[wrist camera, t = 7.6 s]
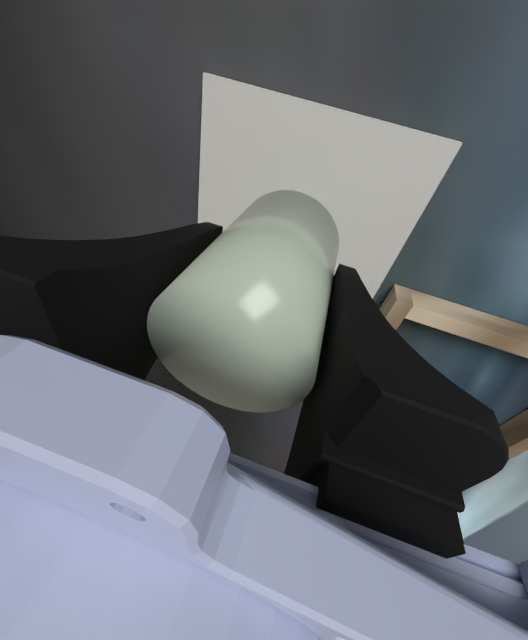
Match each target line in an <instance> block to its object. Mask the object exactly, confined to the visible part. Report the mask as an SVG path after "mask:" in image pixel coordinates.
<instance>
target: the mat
mask: <svg viewBox="0 0 528 640" xmlns="http://www.w3.org/2000/svg"><path fill="white" fill-rule="evenodd" d="M461 145H462V142H460V141H456V140H452V139H449V138H445V137H441V136H438V135H434V134H430V133H427V132H423V131H419V130H416V129H412V128H408V127H405V126H401V125H397V124H394V123H390V122H386V121H383V120H379V119H375V118H371V117H368V116H364V115H360V114H357V113H353V112H349V111H346V110H342V109H338V108H335V107H331V106H327V105H324V104H320V103H316V102H313V101H309V100H305V99H302V98H298V97H294V96H290V95H287V94H283V93H279V92H276V91H272V90H268V89H265V88H261V87H257V86H254V85H250V84H246V83H243V82H239V81H235V80H232V79H228V78H224V77H221V76H217V75H213V74H210V73H203V90H202V118H201V146H200V174H199V202H198V223H203V222H210V223H213V224H216V225H219V226H223V231H224V230H226V229H227V228H228V227H229V226H230V225H231V224H232V223H233V222H234V221H235V220H236V219H237V218H238V217H239V216H240V215H241V214H242V213H243V212H244V211H245V210H246V209H247V208H248V207H249V206H250V205H251V204H252V203H253V202H254V201H255V200H256V199H258V198H259V197H261V196H263V195H265V194H267V193H270V192H273V191H278V190H293V191H298V192H301V193H304V194H307V195H309V196H311V197H313V198H314V199H316V200H317V201H318V202H320V203H321V204H322V205H323V206H324V207H325V208H326V209H327V210H328V212H329V213H330V214H331V216H332V218H333V220H334V222H335V224H336V227H337V230H338V235H339V250H338V255H337V261H336V266H335V272H336V270H337V268H338V265H339V264H342V265H345V266H349V267H352V268H355V269H356V271H357V272H358V274H359V276H360V278H361V280H362V282H363V283H364V285H365V287H366V289H367V291H368V292H369V294H370V296H371V297H372V299H373V297H374V296H375V294H376V292H377V290H378V289H379V287H380V285H381V283H382V282H383V280H384V278H385V277H386V275H387V273H388V271H389V270H390V268H391V266H392V264H393V263H394V261H395V259H396V258H397V256H398V254H399V252H400V251H401V249H402V247H403V245H404V244H405V242H406V240H407V239H408V237H409V235H410V233H411V232H412V230H413V228H414V226H415V225H416V223H417V221H418V219H419V218H420V216H421V214H422V213H423V211H424V209H425V207H426V206H427V204H428V202H429V200H430V199H431V197H432V195H433V194H434V192H435V190H436V188H437V187H438V185H439V183H440V181H441V180H442V178H443V176H444V175H445V173H446V171H447V169H448V168H449V166H450V164H451V162H452V161H453V159H454V157H455V156H456V154H457V152H458V150H459V149H460V147H461ZM223 231H222V232H223ZM335 272H334V275H335Z"/></svg>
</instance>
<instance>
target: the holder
mask: <svg viewBox="0 0 528 640" xmlns="http://www.w3.org/2000/svg"><path fill="white" fill-rule="evenodd" d="M379 310H380V311H381V312H382V314H383V315H384V317H385V318H386V319H387V321H388V322H389V323H390V324H391V326H392V327H393V328H394V329H395V330H396V329H397V328H398V327H399V325H400V324H401V322H402V321H403V320H404V318H406V319H409V320H412V321H415V322H418V323H421V324H424V325H427V326H430V327H433V328H436V329H439V330H443V331H446V332H449V333H452V334H455V335H458V336H461V337H464V338H467V339H470V340H473V341H476V342H479V343H482V344H485V345H488V346H491V347H495V348H498V349H501V350H504V351H507V352H510V353H513V354H516V355H519V356H522V357H525V358H528V326H525V325H522V324H519V323H516V322H513V321H509V320H506V319H503V318H500V317H497V316H494V315H491V314H487V313H484V312H481V311H478V310H475V309H472V308H469V307H465V306H462V305H459V304H456V303H453V302H450V301H447V300H443V299H440V298H437V297H434V296H431V295H428V294H424V293H421V292H418V291H415V290H412V289H409V288H406V287H402V286H399V285H396V284H394V285H393V287H392V289H391V290H390V292H389V293H388V295H387V297H386V298H385V300H384V302H383V303H382V305H381V306H380V308H379ZM500 429H501V431H502V434H503V436H504V439H505V442H506V444H507V447H508V449H509V459H510V458H512V457H514V456H516V455H518V454H520V453H522V452H524V451H526V450H528V409H526V410H525V411H523V412H522V413H520V414H518V415H517V416H515V417H514V418H512V419H511V420H509V421H507V422H506V423H504V424H503V425H501V426H500Z"/></svg>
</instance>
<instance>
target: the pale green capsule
mask: <svg viewBox="0 0 528 640" xmlns="http://www.w3.org/2000/svg"><path fill="white" fill-rule="evenodd" d="M338 250H339V235H338V230H337V227H336V224H335V222H334V220H333V218H332V216H331V214H330V213H329V212H328V210H327V209H326V208H325V207H324V206H323V205H322V204H321V203H320V202H318V201H317V200H316V199H314V198H313V197H311V196H309V195H307V194H304V193H301V192H298V191H293V190H278V191H273V192H270V193H267V194H265V195H263V196H261V197H259V198H258V199H256V200H255V201H254V202H253V203H252V204H251V205H250V206H249V207H248V208H247V209H246V210H245V211H244V212H243V213H242V214H241V215H240V216H239V217H238V218H237V219H236V220H235V221H234V222H233V223H232V224H231V225H230V226H229V227H228V228H227V229H226V230H224V231H223V232H222V233H221V234H220V235H219V236H218V237H217V238H216V239H215V240H214V241H213V242H212V243H211V244H210V245H209V246H208V247H207V248H206V249H205V250H204V251H203V252H202V253H201V254H200V255H199V256H198V257H197V258H196V259H195V260H194V261H193V262H192V263H191V264H190V265H189V266H188V267H187V268H186V269H185V270H184V271H183V272H182V273H181V274H180V275H179V276H178V277H177V278H176V279H175V280H174V281H173V282H172V283H171V284H170V285H169V286H168V287H167V288H166V289H165V290H164V291H163V292H162V293H161V294H160V295H159V296H158V297H157V298H156V299H155V300H154V302H153V304H152V305H151V307H150V310H149V313H148V317H147V331H148V336H149V340H150V342H151V345H152V347H153V349H154V351H155V353H156V355H157V356H158V358H159V360H160V361H161V362H162V364H163V365H164V366H165V367H166V369H167V370H168V371H169V372H170V373H171V374H172V375H173V376H174V377H175V378H177V379H178V380H179V381H180V382H181V383H182V384H184V385H185V386H186V387H188V388H189V389H191V390H192V391H194V392H195V393H197V394H199V395H201V396H202V397H204V398H206V399H208V400H210V401H213V402H215V403H217V404H220V405H223V406H226V407H229V408H233V409H237V410H242V411H247V412H275V411H280V410H284V409H287V408H290V407H292V406H294V405H296V404H298V403H299V402H300V401H302V400H303V399H304V398H305V397H306V396H307V395H308V394H309V392H310V391H311V389H312V388H313V385H314V383H315V379H316V374H317V368H318V363H319V357H320V351H321V346H322V340H323V334H324V329H325V323H326V317H327V312H328V306H329V300H330V295H331V289H332V283H333V278H334V272H335V266H336V261H337V255H338Z"/></svg>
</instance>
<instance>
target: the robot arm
mask: <svg viewBox="0 0 528 640" xmlns="http://www.w3.org/2000/svg"><path fill="white" fill-rule="evenodd" d="M222 231H223V226H219V225H216V224H213V223H210V222H203V223H197V224H193V225H188V226H184V227H180V228H176V229H171V230H167V231H162V232H157V233H152V234H147V235H142V236H135V237H128V238H118V239H106V240H43V239H27V238H17V237H7V236H0V640H528V560H527V561H523V562H521V563H520V564H516V563H514V562H511V561H508V560H506V559H503V558H501V557H498V556H496V555H493V554H490V553H488V552H485V551H483V550H480V549H477V548H475V547H472V546H470V545H467V544H464V543H463V538H462V533H461V529H460V524H459V519H458V515H457V512H459V513H460V512H463V511H464V509H465V505H464V500H463V496H462V491H464V490H466V489H468V488H470V487H472V486H474V485H476V484H478V483H480V482H482V481H484V480H486V479H489V478H491V477H492V476H494V475H495V474H496V473H498V472H499V471H501V470H502V469H503V468H504V466H505V465H506V463H507V461H508V460H509V449H508V447H507V444H506V442H505V439H504V436H503V434H502V431H501V429H500V426H499V424H498V421H497V419H496V416H495V414H494V411H493V410H491V409H490V408H488V407H487V406H485V405H484V404H482V403H481V402H480V401H478V400H477V399H475V398H474V397H472V396H471V395H470V394H468V393H467V392H465V391H464V390H462V389H461V388H459V387H458V386H457V385H455V384H454V383H453V382H451V381H450V380H449V379H448V378H446V377H445V376H444V375H443V374H441V373H440V372H439V371H437V370H436V369H435V368H434V367H433V366H431V365H430V364H429V363H428V362H427V361H426V360H425V359H423V358H422V357H421V356H420V355H419V354H418V353H417V352H416V351H415V350H414V349H413V348H412V347H411V346H410V345H409V344H408V343H407V342H406V341H405V340H404V339H403V338H402V337H401V336H400V335H399V334H398V333H397V331H396V330H395V329H394V328H393V327H392V326H391V324H390V323H389V322H388V321H387V319H386V318H385V317H384V315H383V314H382V312H381V311H380V310H379V308H378V307H377V305H376V304H375V302H374V301H373V299H372V297H371V296H370V294H369V292H368V291H367V289H366V287H365V285H364V283H363V282H362V280H361V278H360V276H359V274H358V272H357V271H356V269H355V268H352V267H349V266H345V265H342V264H339V265H338V268H337V270H336V272H335V275H334V278H333V283H332V289H331V295H330V300H329V306H328V312H327V317H326V323H325V329H324V334H323V340H322V346H321V351H320V357H319V363H318V368H317V374H316V379H315V383H314V385H313V388H312V389H311V391H310V392H309V394H308V395H307V396H306V397H305V398H304V401H303V405H302V409H301V413H300V417H299V421H298V425H297V429H296V432H295V436H294V440H293V444H292V447H291V451H290V455H289V459H288V462H287V466H286V469H285V473H284V474H283V473H280V472H278V471H275V470H273V469H270V468H267V467H265V466H262V465H260V464H257V463H254V462H252V461H249V460H247V459H244V458H241V457H239V456H236V455H234V454H231V453H230V447H229V444H228V440H227V436H226V433H225V431H224V429H223V427H222V426H221V425H220V424H219V423H218V422H217V421H216V420H215V419H214V418H213V417H212V416H211V415H210V414H209V413H208V412H207V411H206V410H205V409H204V408H203V407H202V406H200V405H198V404H196V403H194V402H192V401H190V400H188V399H187V398H185V397H183V396H181V395H179V394H177V393H175V392H173V391H171V390H168V389H166V388H163V387H160V386H157V385H155V384H152V383H149V382H147V381H144V379H145V378H146V376H147V374H148V372H149V371H150V369H151V367H152V366H153V364H154V362H155V361H156V359H157V357H158V356H157V355H156V353H155V351H154V349H153V347H152V345H151V342H150V340H149V336H148V331H147V317H148V313H149V310H150V307H151V305H152V304H153V302H154V300H155V299H156V298H157V297H158V296H159V295H160V294H161V293H162V292H163V291H164V290H165V289H166V288H167V287H168V286H169V285H170V284H171V283H172V282H173V281H174V280H175V279H176V278H177V277H178V276H179V275H180V274H181V273H182V272H183V271H184V270H185V269H186V268H187V267H188V266H189V265H190V264H191V263H192V262H193V261H194V260H195V259H196V258H197V257H198V256H199V255H200V254H201V253H202V252H203V251H204V250H205V249H206V248H207V247H208V246H209V245H210V244H211V243H212V242H213V241H214V240H215V239H216V238H217V237H218V236H219V235H220V234H221V233H222Z"/></svg>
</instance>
